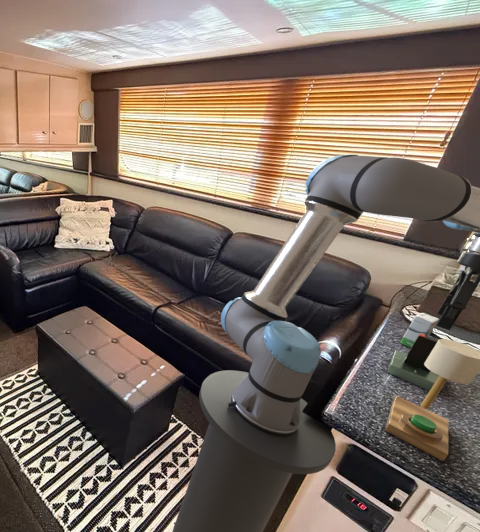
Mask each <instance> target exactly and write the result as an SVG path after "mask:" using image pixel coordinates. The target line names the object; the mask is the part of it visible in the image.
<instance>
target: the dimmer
mask: <svg viewBox="0 0 480 532" xmlns="http://www.w3.org/2000/svg"><path fill="white" fill-rule="evenodd" d="M407 354H408V353H406V352H402V351H400V350H397V349H395V351H394V352H393V354H392V356H391V358H390V361H389V364H388V367H387V370H386V373H387V374H390V375H392V376H394V377H397V378H399V379H401V380H404V381H406V382H408V383H411V384H412V385H415V386H418V387H420V388H421V389H424V390H427V391H428V392H429V391H430V390H431V388H432V387H433V385H434V384H435V382H436V381H437V379H438V378H439V375H437V374H435V373H433V372H432V371H430V372H427V371H425V370H422V369H420V368H417V367H415V366H412V365H410V364H408V363H405V362H404V359H405V358H406V356H407Z"/></svg>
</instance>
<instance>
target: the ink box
mask: <svg viewBox="0 0 480 532" xmlns="http://www.w3.org/2000/svg"><path fill="white" fill-rule="evenodd" d="M439 319H440V318H438V317H435V316H433V315H430V314H428V313H426V312H420V313H418V314H417V315H415V316H414V318H413V319H412V321H411V323H410V324H409V326H408V328H407V330H406V331H405V333H404V335H403V337H402V338H401V340H400V342H399V343H400V344H402V345H403V346H406V347H409V348H410V349H411V348H412V346H413V344H414V342H415V341H416V339H417V337H418V336H419V334H423V335H425V336H427V337H430V335H431V333H432V331H433V330H434V329H435V327H436V324H437V323H438V321H439ZM411 345H412V346H411Z"/></svg>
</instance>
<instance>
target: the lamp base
mask: <svg viewBox="0 0 480 532" xmlns="http://www.w3.org/2000/svg"><path fill="white" fill-rule="evenodd" d="M415 414H417V415H421V416H424V417H426V418H428V419H430V420H431V421H433V422H434V423H435V424H436V426H437V428H436V429H435V431H434V432H433V433H432V434H430V433H427V432H424V431H422V430H420V429H418V428H417V427H415V426H414V425H413V424H411V422H410V420H411V418H412V417H413V415H415ZM384 431H385V432H387V433H389V434H391V435H393V436H394V437H396V438H399V439H400V440H402V441H404V442H406V443H408V444H410V445H412V446H413V447H415V448H418V449H419V450H421V451H423V452H425V453H427V454H429V455H430V456H432V457H434V458H436V459H438V460H440V461H442V462H444V461H445V459H446V458H447V457H448V456H449V419H447V418H445V417H443V416H441V415H439V414H436V413H434V412H432V411H430V410H429V409H424V408H422V407H421V406H419V405H417V404H415V403H413V402H411V401H408V400H406V399H404V398H402V397H400V396H398V395H396V396H394V398H393V400H392V402H391V406H390V409H389V413H388V417H387V421H386V425H385V429H384Z"/></svg>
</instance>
